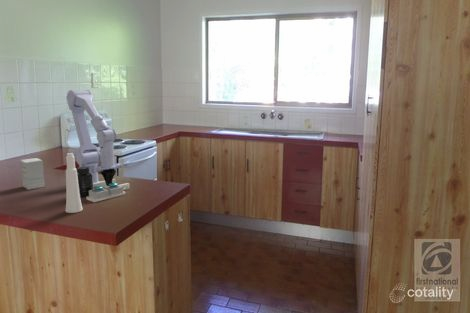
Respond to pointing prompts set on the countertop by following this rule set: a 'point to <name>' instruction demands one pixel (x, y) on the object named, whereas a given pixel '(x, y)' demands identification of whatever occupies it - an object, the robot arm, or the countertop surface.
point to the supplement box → (32, 173)
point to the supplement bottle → (84, 181)
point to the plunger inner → (113, 185)
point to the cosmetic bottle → (72, 186)
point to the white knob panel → (107, 191)
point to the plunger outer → (98, 188)
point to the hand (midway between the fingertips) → (108, 185)
